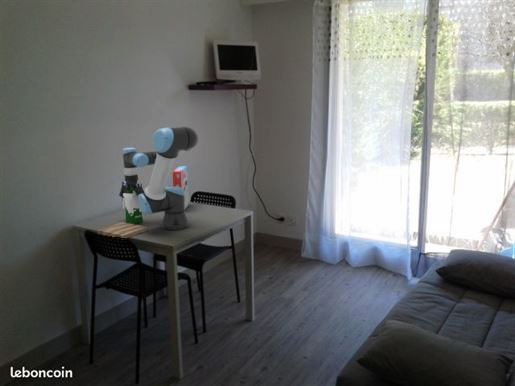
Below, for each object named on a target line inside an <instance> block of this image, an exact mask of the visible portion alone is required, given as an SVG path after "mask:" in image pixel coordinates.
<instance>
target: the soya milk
mask: <svg viewBox="0 0 515 386" xmlns="http://www.w3.org/2000/svg"><path fill="white" fill-rule="evenodd" d="M123 196H124V200H125V223H129V224H134V225H139V224H141V223H143V222H144V221H143V220H144V219H143V214H142V211H141V212H140V210H139V205H138V196H137V195H136V193H135V192H134V191H133V190H129V189H128V190H126V193H124V194H123Z"/></svg>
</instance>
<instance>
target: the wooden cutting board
mask: <svg viewBox="0 0 515 386" xmlns="http://www.w3.org/2000/svg"><path fill="white" fill-rule="evenodd" d="M96 232H97V234H98V235H101V234H102V236H106V235H107V236H106V237H110V236H112V237H111V238H114V237H121V238H125V239H128V238H131V237H133V236H137V235H139V234H143V233H145V232H148V226H142V225H139V224H135V225H134V224H129V223H126V222H119V223H116V224H112V225H110V226H107V227H103V228H99V229H97V231H96Z"/></svg>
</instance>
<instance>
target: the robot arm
mask: <svg viewBox="0 0 515 386" xmlns="http://www.w3.org/2000/svg"><path fill="white" fill-rule="evenodd" d="M152 142H153V143H152V147H153V148H154V150H153V151H145V152H137V149H136V147H124V148H123V149H122V159H123V160H122V161H123V173H124V181H122V182H121V188H120V190H119V195H118V196H119V197H121V199H122V200H121V201H122V207H123V210H124V209H125V200H124V196H123V194H124V193H126V190H128V189H129V190H133V191H134V192H135V193H136V195H137V196H138V205H139V210H140V212H141V211H142V213H143V214H144V215H152V214H156V213H161V212H164V214H163V220H162V222H161V227H162V229H163V230H169V231H177V230H178V231H179V230H184V229H186V228H188V227H189V226H190V224H189V220H188V217H187V215H186V214H187V213H186V209H185V200H184V196H185V195H184V190H183V189H182V188H180V187H173V185H172V186H171V185H170V186H167V182H168V179H169V177H170V173H171V171H172V170H171V169H172V166H173V163H174V160H175V159H176V158H178V157H179V154H181V153H182V152H188V151H191V150H192V149H193V150H194V148H195V147H196V146H197V145H198V143H199V136H198V133H197V132H196V131H195V129H193V128H192V127H189V126H188V127H187V126H178V127H163V128H159V129H157V130H156V131H155V132H154V134H153V138H152ZM146 166H153V168H152V172H151V177H150V179H149V183H148V186H146V187H145V188H144V189H143V184H142V182H140V183H138V180H139V174H138V168H144V167H146Z"/></svg>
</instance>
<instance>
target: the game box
mask: <svg viewBox="0 0 515 386" xmlns="http://www.w3.org/2000/svg"><path fill="white" fill-rule="evenodd" d="M188 177H189V176H188V166H187V165H183V166H181V165H180V166H178V167H177V168H175V169H174V170H173V171H172V184H173V185H172V187H180V188H182V189H183V190H184V195H185V196H184V200H185V210H186V209H187V208H188V207H189V205H190V204H189V202H190V200H189V199H190V198H189V183H188V182H189V181H188Z"/></svg>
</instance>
